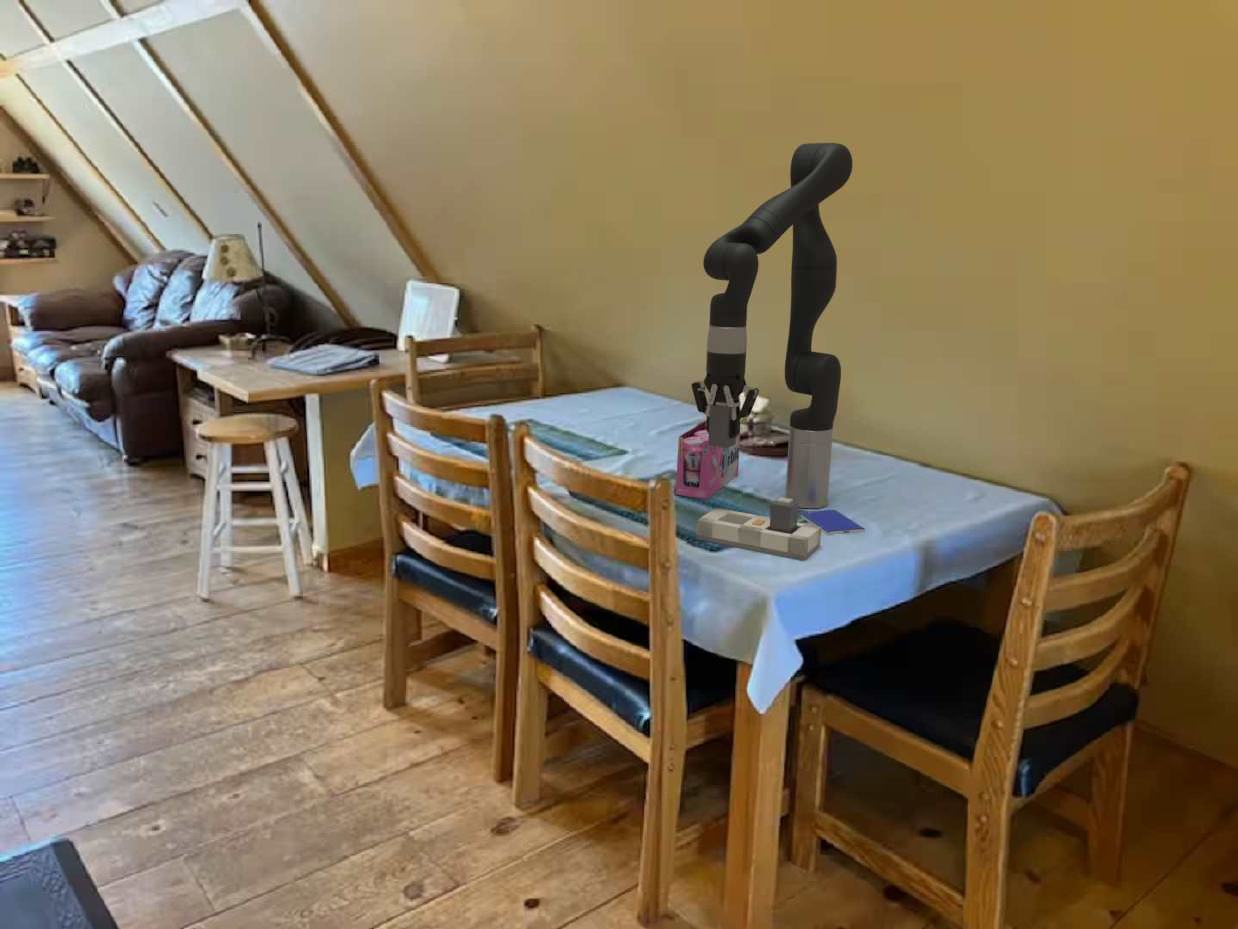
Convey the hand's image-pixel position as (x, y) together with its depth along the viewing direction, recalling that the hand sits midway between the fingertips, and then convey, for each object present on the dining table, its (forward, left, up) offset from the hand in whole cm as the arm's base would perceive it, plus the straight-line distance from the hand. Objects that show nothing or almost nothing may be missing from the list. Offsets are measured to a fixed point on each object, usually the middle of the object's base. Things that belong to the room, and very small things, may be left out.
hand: (722, 435), depth 195 cm
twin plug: (+3, +15, -18) cm, 24 cm away
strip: (+3, +10, -19) cm, 22 cm away
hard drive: (-16, +18, -20) cm, 32 cm away
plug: (0, 0, -2) cm, 2 cm away
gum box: (-28, -16, -20) cm, 38 cm away
